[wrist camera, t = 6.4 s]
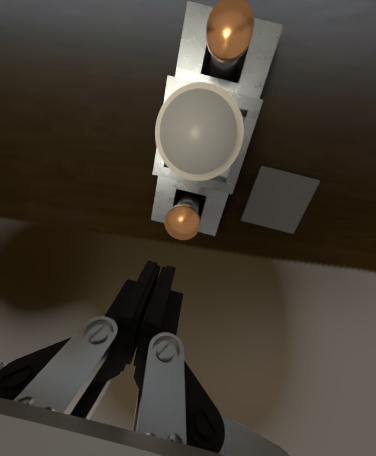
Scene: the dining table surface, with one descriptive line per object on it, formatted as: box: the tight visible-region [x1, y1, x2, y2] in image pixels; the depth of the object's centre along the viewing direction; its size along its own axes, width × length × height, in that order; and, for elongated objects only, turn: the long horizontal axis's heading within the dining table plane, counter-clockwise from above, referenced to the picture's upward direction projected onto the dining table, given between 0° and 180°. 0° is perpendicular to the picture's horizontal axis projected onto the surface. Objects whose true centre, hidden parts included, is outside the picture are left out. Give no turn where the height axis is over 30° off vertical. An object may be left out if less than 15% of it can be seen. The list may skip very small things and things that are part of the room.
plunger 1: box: [165, 193, 200, 240], centre depth 23 cm, size 4×4×8 cm
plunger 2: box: [206, 0, 254, 81], centre depth 18 cm, size 4×4×8 cm
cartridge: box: [155, 82, 244, 181], centre depth 16 cm, size 5×5×13 cm
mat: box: [241, 165, 320, 234], centre depth 27 cm, size 8×8×1 cm
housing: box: [151, 1, 283, 236], centre depth 22 cm, size 22×9×8 cm, turn 167°
